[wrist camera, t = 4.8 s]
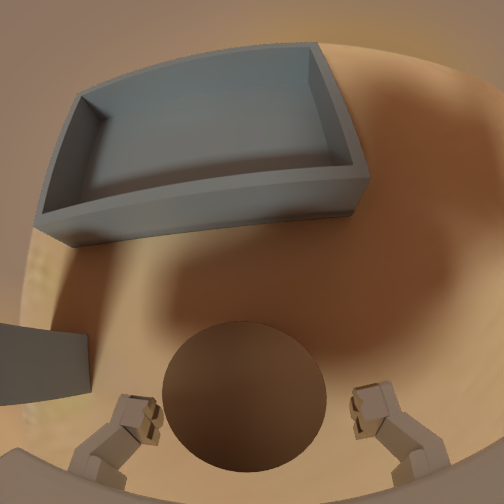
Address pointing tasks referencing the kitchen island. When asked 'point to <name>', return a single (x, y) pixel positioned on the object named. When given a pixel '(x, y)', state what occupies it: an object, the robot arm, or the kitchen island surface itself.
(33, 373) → the slate block
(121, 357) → the kitchen island surface
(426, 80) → the kitchen island surface
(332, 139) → the tote
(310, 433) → the wooden cylinder
